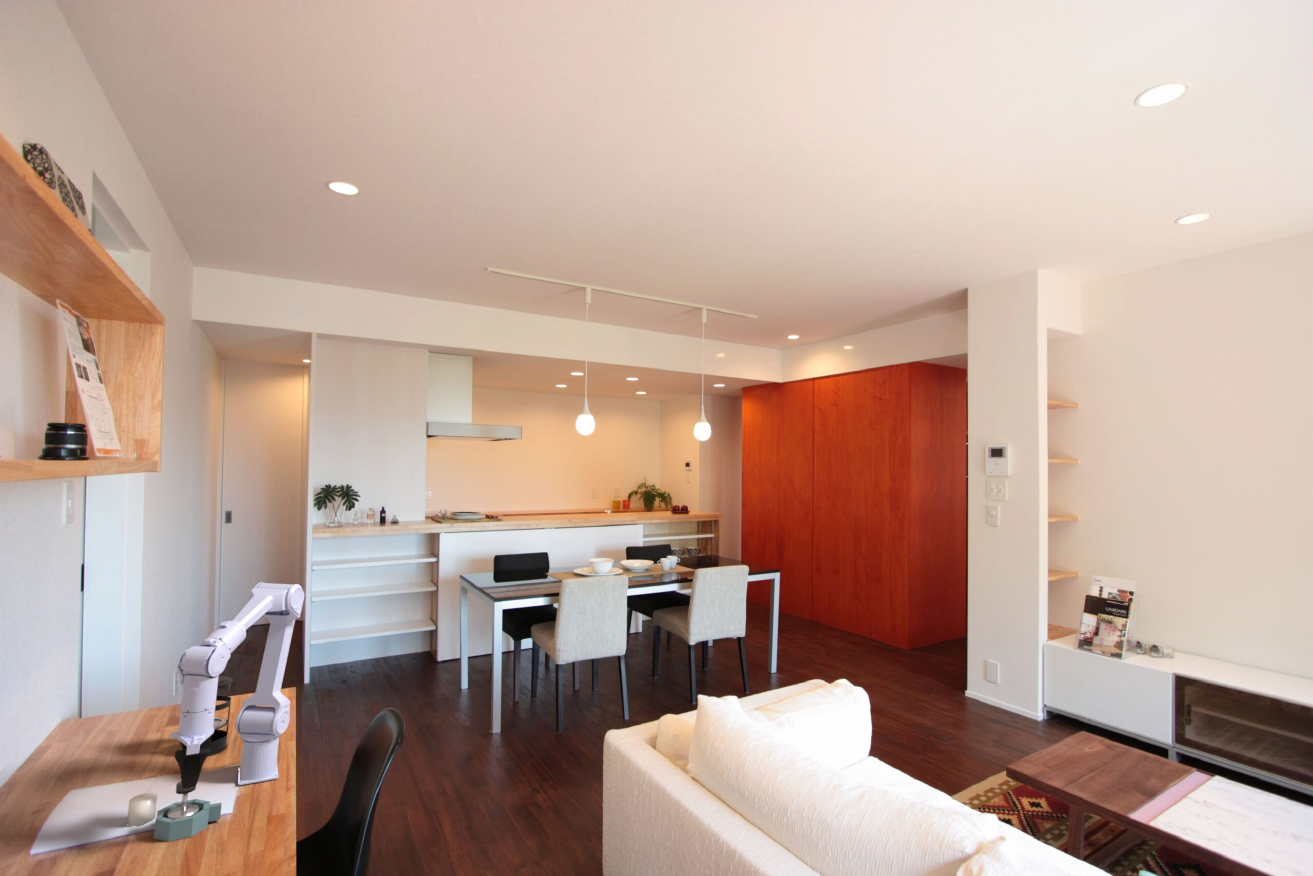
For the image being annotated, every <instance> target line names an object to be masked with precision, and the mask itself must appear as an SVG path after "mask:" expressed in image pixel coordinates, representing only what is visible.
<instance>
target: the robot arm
mask: <svg viewBox="0 0 1313 876" xmlns="http://www.w3.org/2000/svg"><path fill="white" fill-rule="evenodd" d="M304 592H305V591H304V590H303V587H302V586H301V585H300V584H298V583H294V584H289V583H288V584H287V583H272V582H271V583H270V582H269V583H268V582H267V583H266V582H263V581H261V582H258V583H257V584H256V585H254V587H253V588H252V589H251V590H250V593H249V596H248V601H247V603H246V604H244V606H243V607H242V608H241V609H240V610H239V612H238V613H236V615H235V616H234V617H233V619H232V620H226V621H222V622H220V624H219V625H218V626H217V627H216V628H215V629H214V630H213V631H212V632H211V633H210V634H209V635H208V636H207V637H206V638H204V639H203V641H201V642H200V643H199V645H195V646H192V647H189V648H188V649H186V650H184V652H182V654H181V656H180V658H179V662H178V663H177V666H176V667H177V672H178V674H179V676H180V680H179V684H180V685H181V686H182V692H181V693H182V695H181V703H180V712H179V719H178V730H176V731H173V732H171V733H170V736H169V739H170V740H176V739H177V740H178V741H179V743H180V746H181V748H182V749H180V750H176V751H175V753H174V759H175V760H176V763H177V765H178V767H179V772H180V779H181V780H180V781H181V782H182V787H183V788H189V787H195V786H196V787H197V784H198V781H199V778H200V777H201V776H200V775H201V772H202V769H203V766H204V763H205V762H206V760H207V758H208V757H209V756H208V755H209V753H210V751H211V748H205V747H206V744H207V742H208V740H209V739H210V737H211V736H212V734H213V733H214V727H213V725H214V718H215V715H216V714H215V713H216V711H215V706H216V705H217V704H216V703H217V701H216V696H217V694H218V688H217V686H218V677H219V676H220V675H221V674H222V673H223V672H224V670H225V668H226V666H227V664H228V661H229V660H230V658H231V656H232V655H231V654H232V653H233V652H234V651H235V650H236V649H237V648H238V646H240V645H241V644H242V642H243V641H245V639H246V637H247V630H248V629H249V628H251V626H253V625H254V624H255V623H256V622H257V621H258V620H260V619H261V618H262V617H264V618H266V619H267V621H268V622H269V629H268V633H267V638H266V642H265V646H264V647H265V648H264V652H263V657H262V659H261V660H262V661H261V666H260V669H259V674H258V678H257V683H256V687H255V692H254V694H251V695H250V696H249V697H247V698H245V699H244V700H243V701H242V705H241V708H240V711H239V712H238V714H237V716H236V719H235V723H234V724H235V725H234V726H235V727H234V728H235V732H236V733H237V734H238V735H240V736H239V737H240V738H239V739H240V740H242V747H241V757H240V759H241V760H240V766H239V767H240V782H239V785H238V786H243V785H248V784H249V785H250V784H255V783H261V782H266V781H272V780H277V779H279V769H278V768H279V767H278V766H279V765H278V755H279V754H278V753H279V752H278V751H279V745H280V744H279V742H280V736H282V735H283V733H284V732H286V730H287V729H288V727H289V724H290V720H291V711H290V709H291V708H290V707H291V701H290V699H289V698H288V697H286V696H285V694H284V693H282V692H281V691H282V684H283V680H284V676H285V671H286V666H287V661H288V657H289V652H290V646H291V641H292V637H293V631H294V627H295V623H296V620H298V619H300V618H301V613H302V609H303V604H304V602H305V601H304V599H305V593H304Z"/></svg>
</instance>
